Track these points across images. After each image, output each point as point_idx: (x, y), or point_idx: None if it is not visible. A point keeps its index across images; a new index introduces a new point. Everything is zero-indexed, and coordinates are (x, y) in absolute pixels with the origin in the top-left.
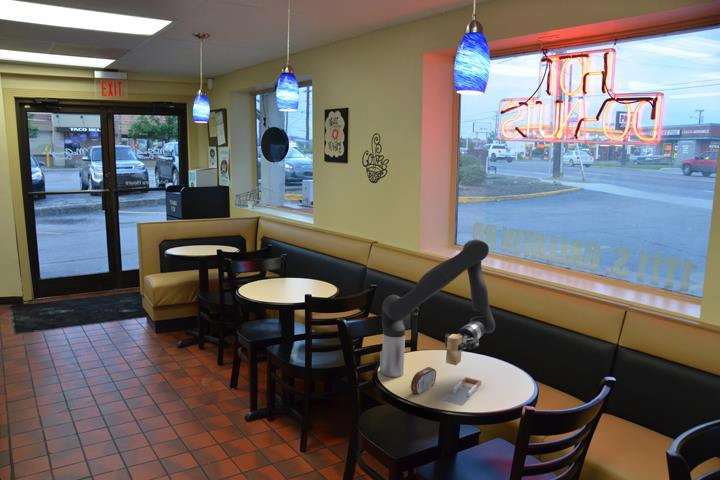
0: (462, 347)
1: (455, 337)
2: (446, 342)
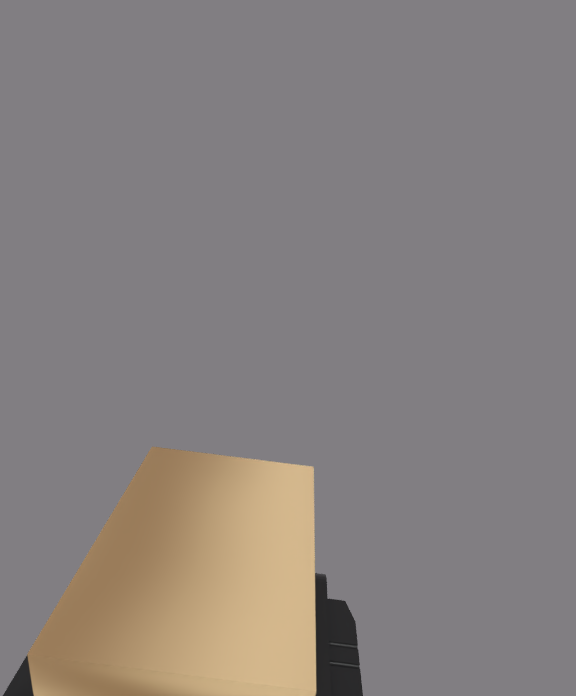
0: None
1: (200, 498)
2: (340, 617)
